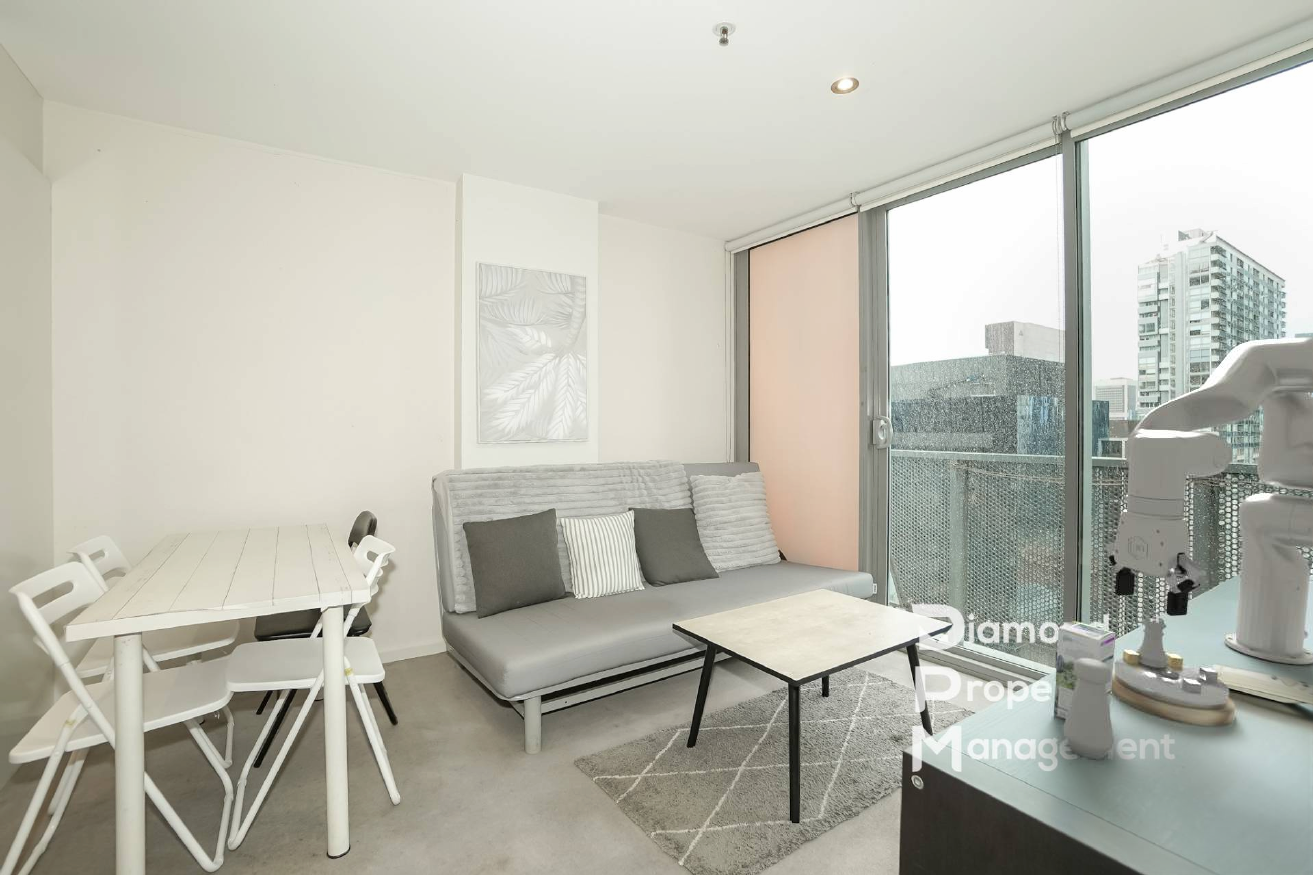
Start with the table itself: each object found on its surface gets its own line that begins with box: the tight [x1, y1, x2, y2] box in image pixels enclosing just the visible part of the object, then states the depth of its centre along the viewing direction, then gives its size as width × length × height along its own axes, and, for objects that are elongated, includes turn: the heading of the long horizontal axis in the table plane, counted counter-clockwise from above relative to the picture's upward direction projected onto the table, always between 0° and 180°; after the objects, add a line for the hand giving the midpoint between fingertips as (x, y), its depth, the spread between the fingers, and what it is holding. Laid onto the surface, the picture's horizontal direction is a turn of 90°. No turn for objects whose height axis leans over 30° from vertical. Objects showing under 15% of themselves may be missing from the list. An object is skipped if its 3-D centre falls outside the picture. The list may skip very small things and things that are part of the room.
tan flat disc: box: [1111, 668, 1236, 727], centre depth 100 cm, size 16×16×2 cm
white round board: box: [1114, 649, 1230, 710], centre depth 100 cm, size 14×14×4 cm
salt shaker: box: [1063, 658, 1115, 761], centre depth 85 cm, size 6×6×13 cm
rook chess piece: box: [1135, 615, 1168, 669], centre depth 104 cm, size 4×4×8 cm
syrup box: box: [1053, 620, 1116, 721], centre depth 93 cm, size 6×6×14 cm
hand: (1149, 604), depth 104 cm, fingers open, 9 cm apart
